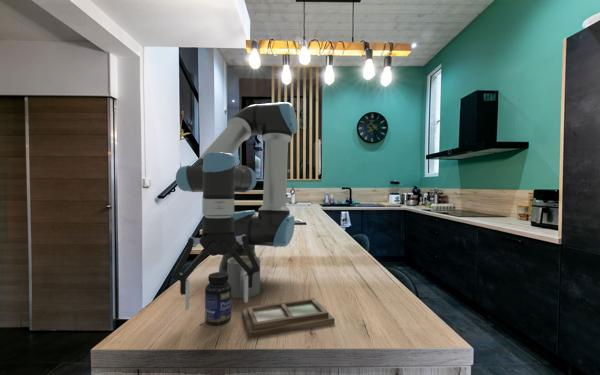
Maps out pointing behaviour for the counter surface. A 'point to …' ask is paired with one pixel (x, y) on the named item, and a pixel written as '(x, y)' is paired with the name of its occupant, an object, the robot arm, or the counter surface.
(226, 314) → the pill bottle
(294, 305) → the divided wooden tray
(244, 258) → the coffee mug
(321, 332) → the counter surface
